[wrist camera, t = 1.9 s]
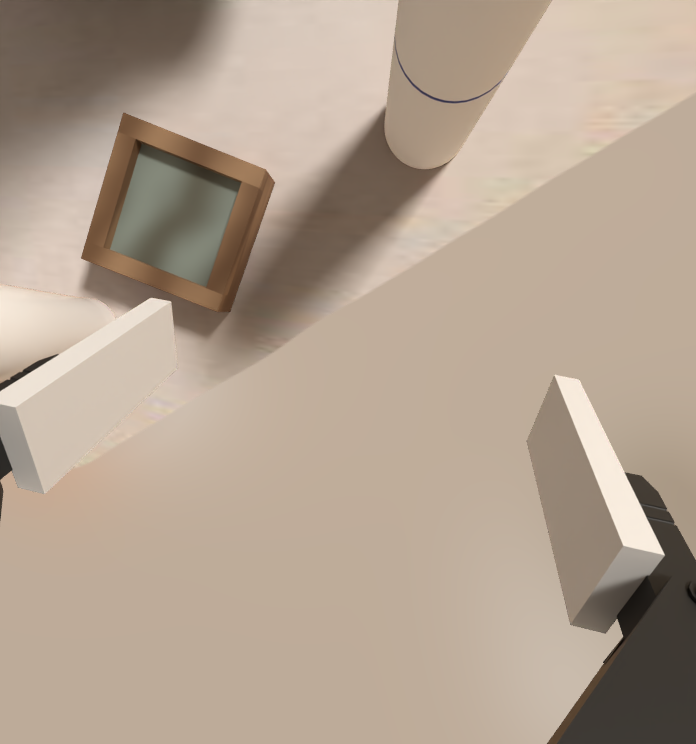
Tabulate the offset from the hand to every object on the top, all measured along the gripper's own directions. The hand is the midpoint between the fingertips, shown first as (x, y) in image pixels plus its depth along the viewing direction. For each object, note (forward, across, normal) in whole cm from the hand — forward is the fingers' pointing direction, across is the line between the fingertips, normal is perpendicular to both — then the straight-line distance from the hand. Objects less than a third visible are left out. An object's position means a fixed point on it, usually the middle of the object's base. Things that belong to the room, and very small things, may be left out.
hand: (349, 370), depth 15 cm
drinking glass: (+20, -27, -13) cm, 36 cm away
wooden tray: (+24, -19, -3) cm, 31 cm away
